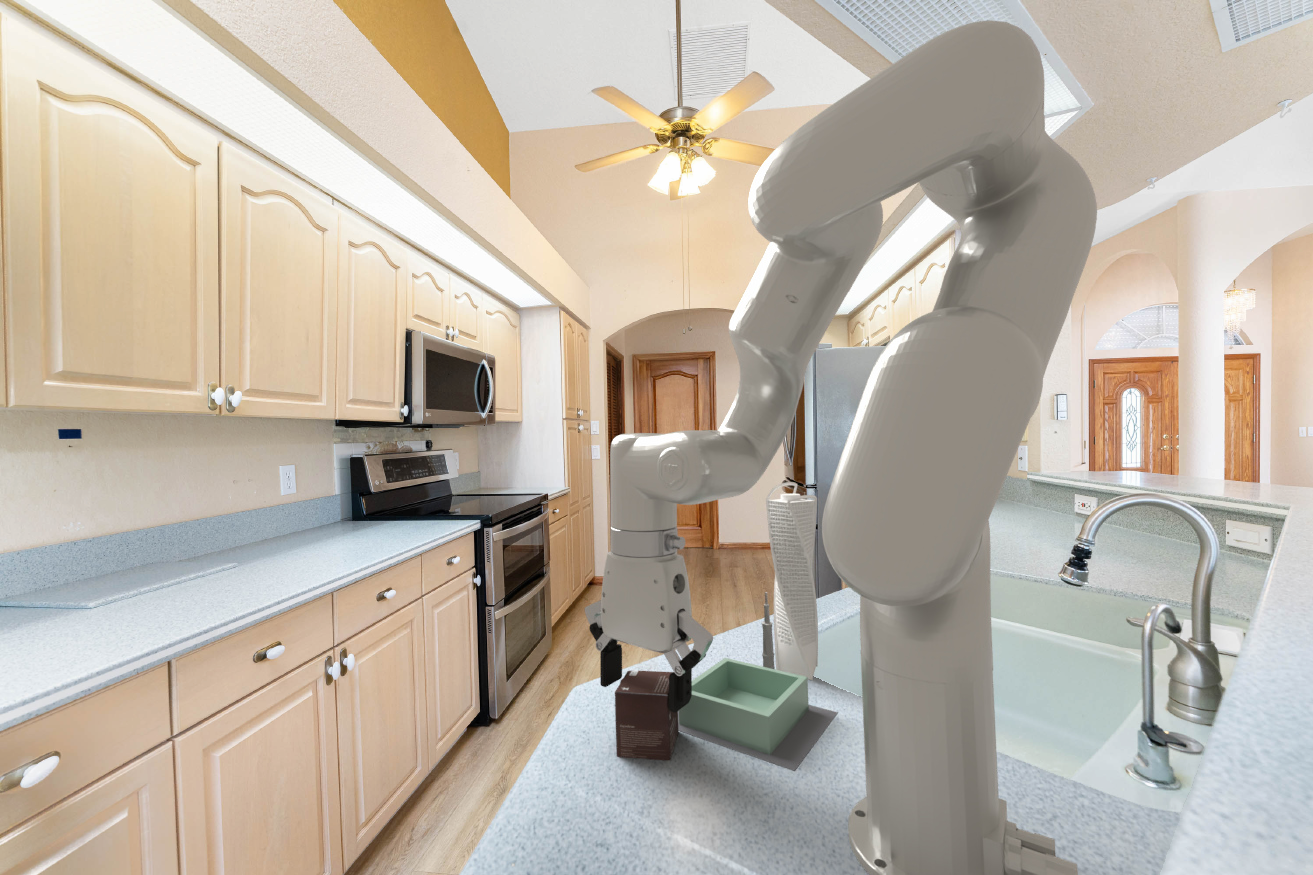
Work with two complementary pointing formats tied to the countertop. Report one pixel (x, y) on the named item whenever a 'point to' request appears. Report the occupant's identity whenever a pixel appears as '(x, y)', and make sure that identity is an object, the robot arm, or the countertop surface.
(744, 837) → the countertop surface
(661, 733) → the box
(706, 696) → the crate
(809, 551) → the skyscraper
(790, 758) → the mat
